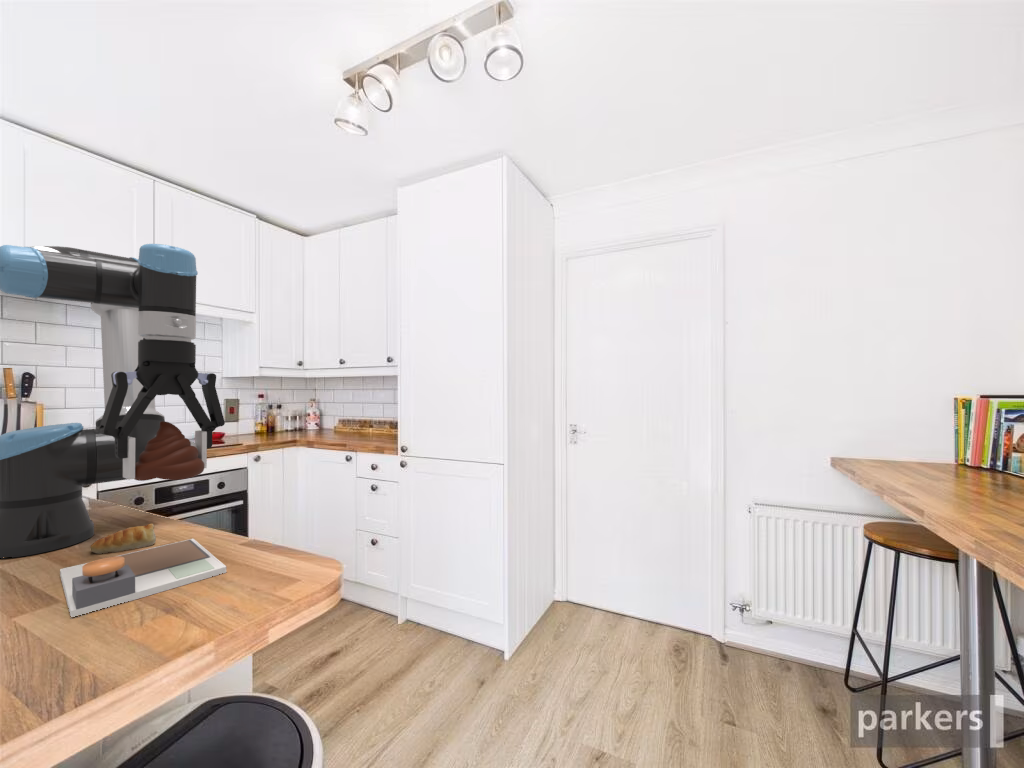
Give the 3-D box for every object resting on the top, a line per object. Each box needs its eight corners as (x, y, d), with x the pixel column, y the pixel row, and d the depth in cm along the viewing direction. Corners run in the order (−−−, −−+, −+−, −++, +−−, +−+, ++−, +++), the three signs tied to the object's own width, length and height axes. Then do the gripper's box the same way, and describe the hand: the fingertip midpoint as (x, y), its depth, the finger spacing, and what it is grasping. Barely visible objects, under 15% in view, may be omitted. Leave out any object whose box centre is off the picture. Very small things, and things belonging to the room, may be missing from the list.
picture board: (59, 575, 69) (60, 554, 69) (193, 543, 83) (193, 525, 83) (71, 618, 56) (71, 592, 56) (226, 572, 70) (226, 551, 70)
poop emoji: (116, 483, 65) (116, 424, 65) (150, 471, 74) (150, 418, 74) (189, 481, 68) (189, 424, 67) (214, 469, 76) (215, 418, 76)
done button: (80, 586, 61) (80, 563, 61) (121, 576, 64) (121, 553, 64) (84, 596, 58) (84, 572, 58) (126, 584, 61) (126, 561, 61)
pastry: (90, 560, 76) (90, 539, 76) (90, 549, 81) (90, 530, 81) (157, 545, 82) (157, 526, 82) (154, 537, 87) (154, 519, 87)
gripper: (84, 332, 59) (83, 489, 60) (248, 344, 78) (246, 464, 78) (68, 334, 63) (68, 482, 64) (228, 345, 82) (227, 459, 82)
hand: (166, 472), depth 71 cm, fingers closed on poop emoji, 9 cm apart
